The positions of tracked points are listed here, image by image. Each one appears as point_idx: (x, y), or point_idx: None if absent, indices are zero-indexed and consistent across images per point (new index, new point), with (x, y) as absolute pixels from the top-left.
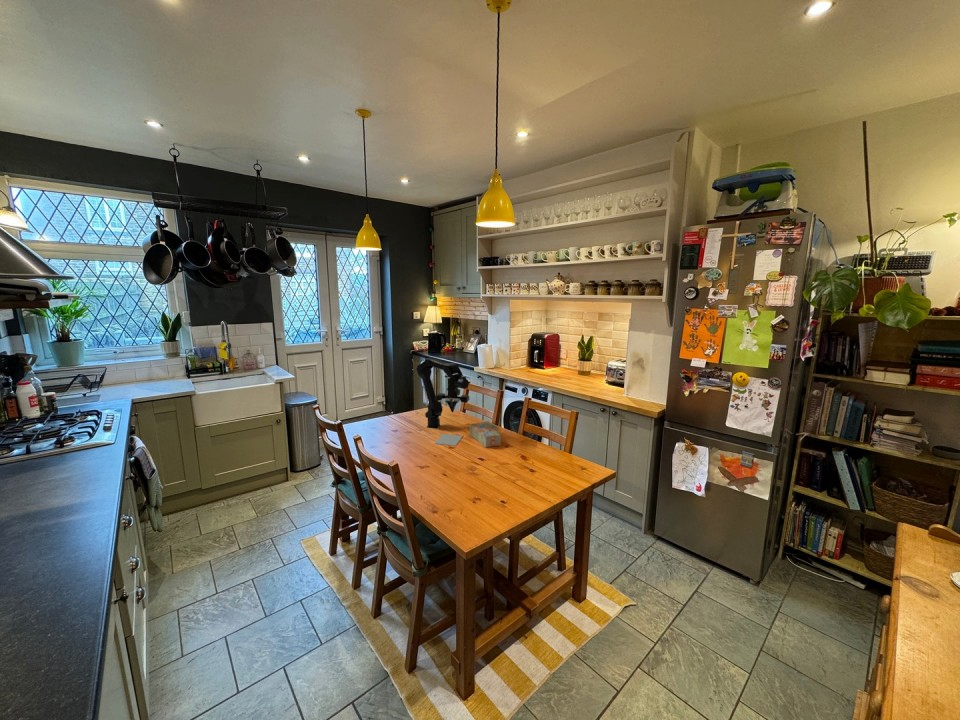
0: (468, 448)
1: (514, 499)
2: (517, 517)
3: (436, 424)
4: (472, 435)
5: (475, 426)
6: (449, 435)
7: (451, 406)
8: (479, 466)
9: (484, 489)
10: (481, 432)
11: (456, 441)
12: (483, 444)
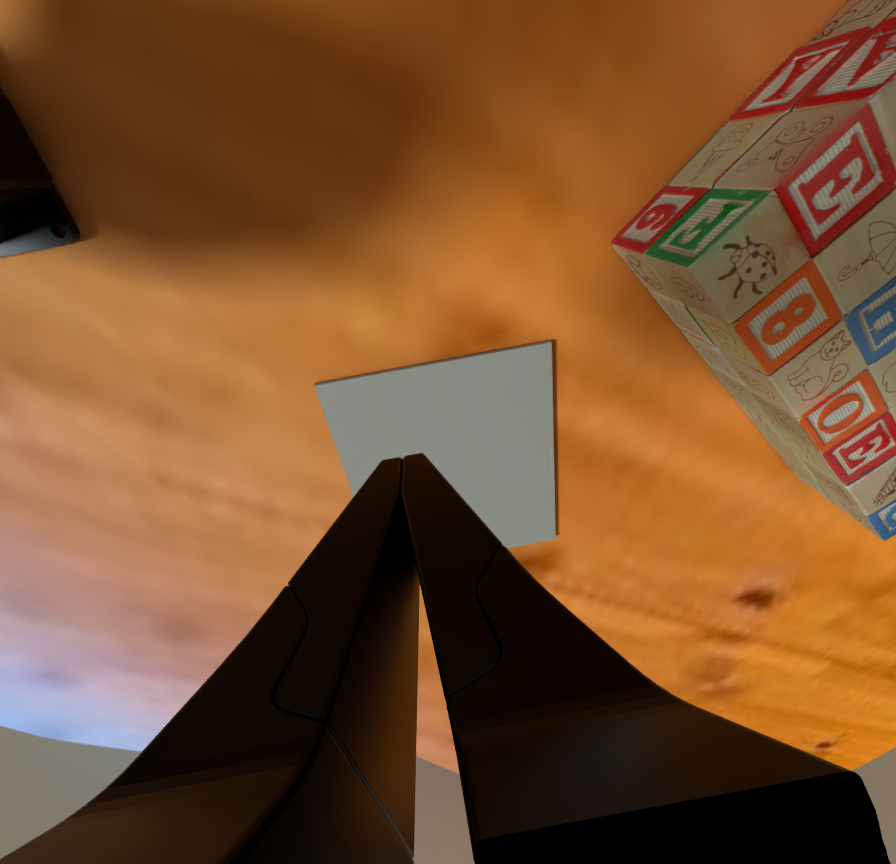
0: (660, 528)
1: (864, 729)
2: (852, 764)
3: (6, 202)
4: (664, 306)
5: (792, 331)
6: (407, 395)
7: (408, 701)
8: (747, 649)
9: (767, 732)
10: (855, 467)
11: (536, 482)
12: (788, 461)
